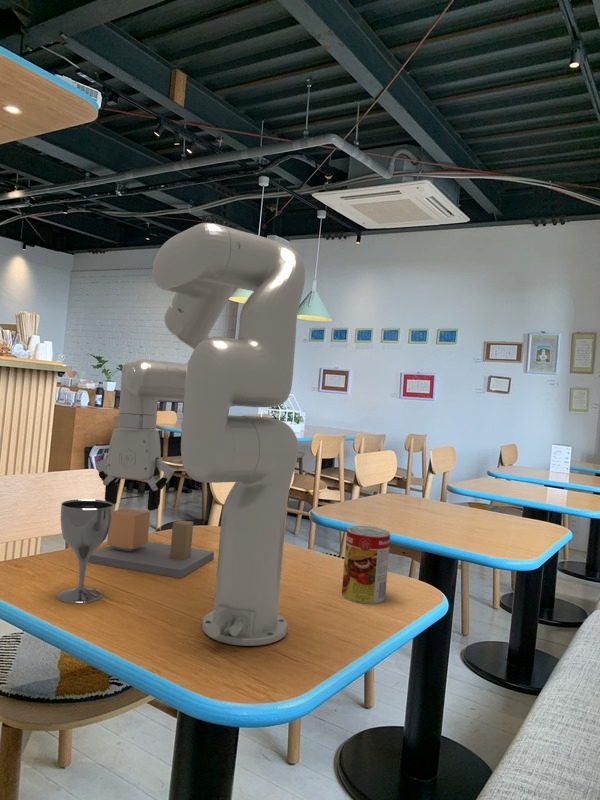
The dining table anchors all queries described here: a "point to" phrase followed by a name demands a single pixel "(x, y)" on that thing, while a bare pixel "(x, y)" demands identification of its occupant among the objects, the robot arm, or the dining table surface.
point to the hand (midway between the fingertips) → (131, 506)
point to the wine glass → (84, 540)
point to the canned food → (366, 564)
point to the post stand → (158, 555)
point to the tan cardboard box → (129, 528)
